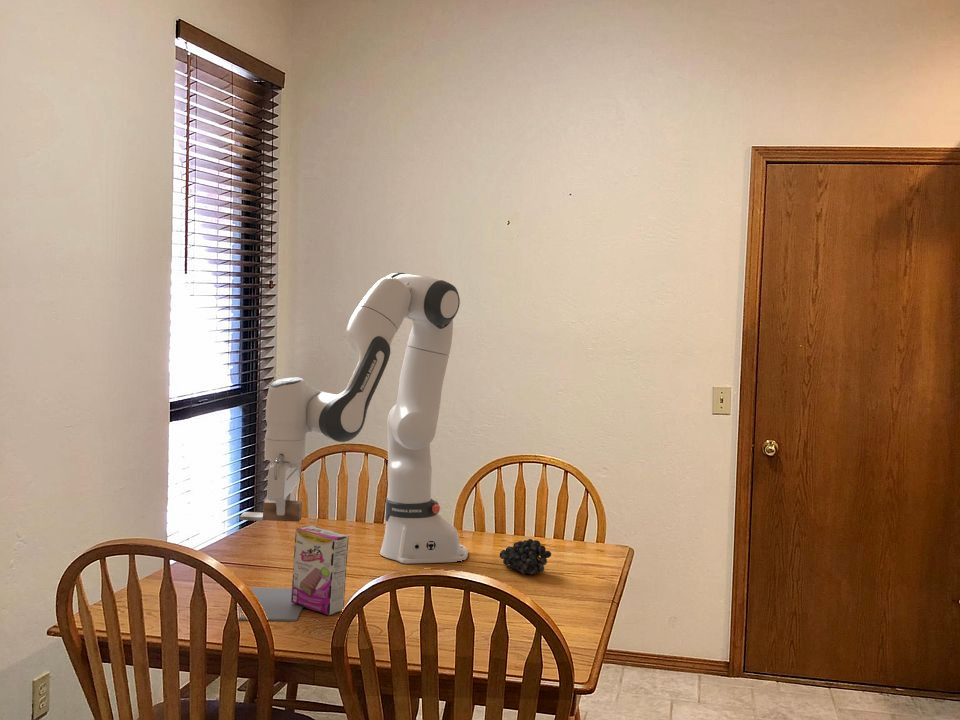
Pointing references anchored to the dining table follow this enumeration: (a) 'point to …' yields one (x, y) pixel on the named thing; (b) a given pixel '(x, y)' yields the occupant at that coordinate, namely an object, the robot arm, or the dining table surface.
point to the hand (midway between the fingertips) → (282, 512)
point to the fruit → (526, 556)
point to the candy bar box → (319, 569)
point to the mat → (276, 604)
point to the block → (270, 512)
